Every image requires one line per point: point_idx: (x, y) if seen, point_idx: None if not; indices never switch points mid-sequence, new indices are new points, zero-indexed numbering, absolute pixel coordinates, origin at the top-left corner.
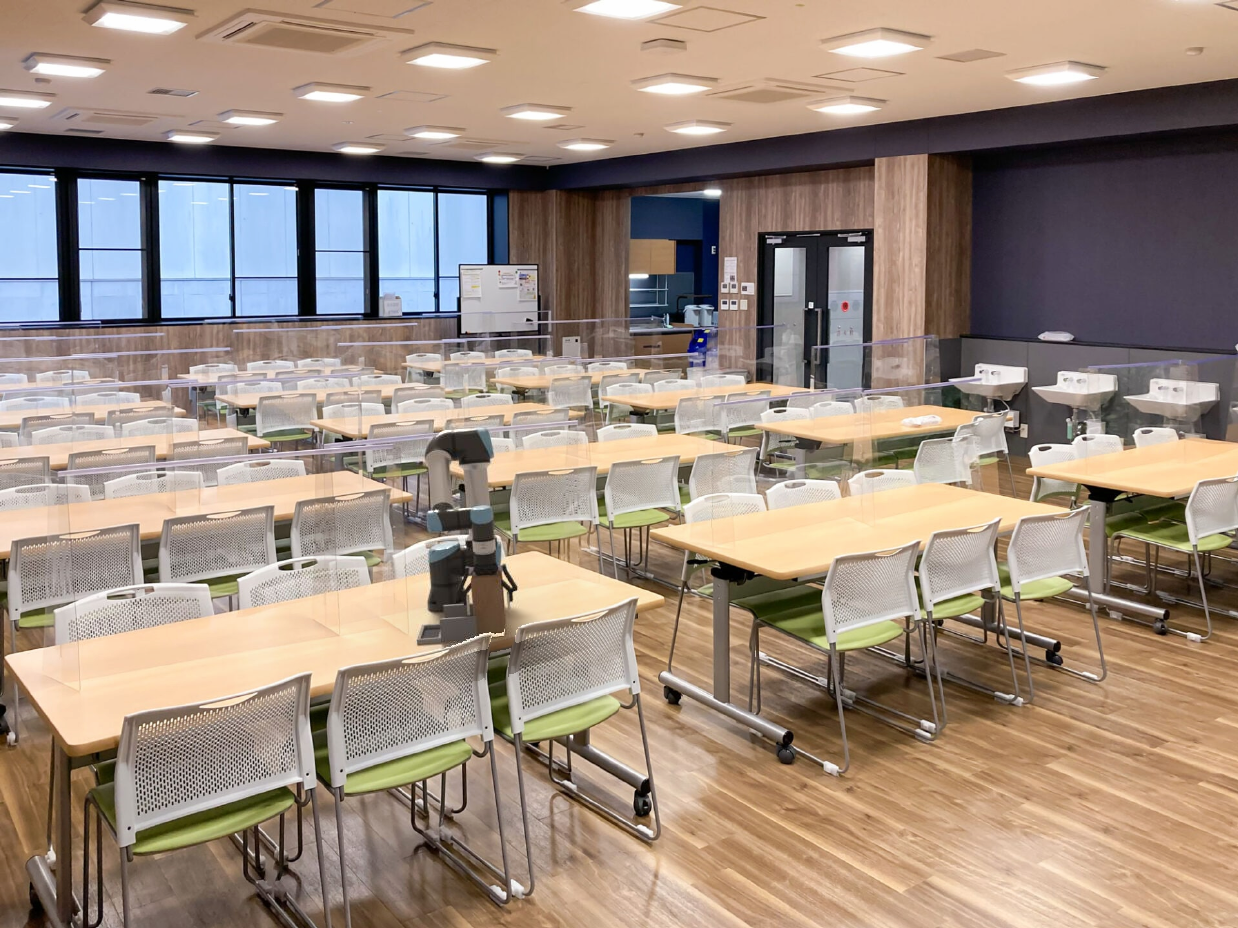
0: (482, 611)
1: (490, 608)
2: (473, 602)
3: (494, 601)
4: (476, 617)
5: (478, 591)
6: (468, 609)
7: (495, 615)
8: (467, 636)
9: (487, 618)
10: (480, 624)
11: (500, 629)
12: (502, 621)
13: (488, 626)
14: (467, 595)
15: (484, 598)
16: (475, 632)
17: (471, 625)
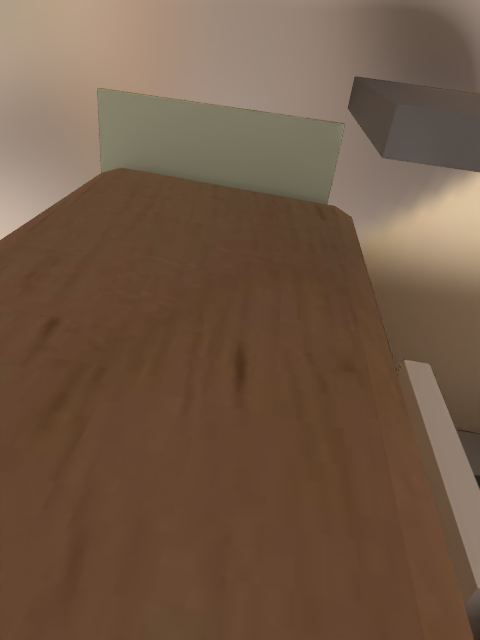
0: (259, 282)
1: (133, 280)
2: (401, 409)
3: (6, 324)
4: (344, 266)
5: (285, 616)
6: (431, 406)
7: (108, 227)
8: (461, 94)
9: (214, 231)
10: (301, 223)
11: (122, 171)
12: (67, 196)
13: (224, 202)
14: (472, 625)
15: (171, 409)
16: (380, 84)
17: (441, 100)
